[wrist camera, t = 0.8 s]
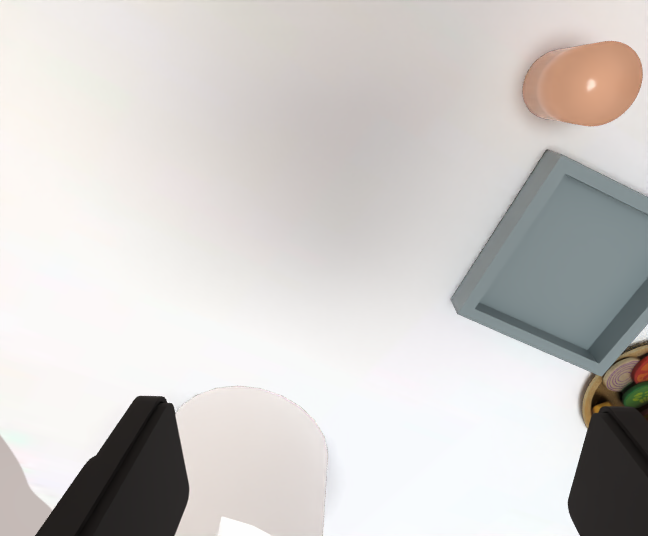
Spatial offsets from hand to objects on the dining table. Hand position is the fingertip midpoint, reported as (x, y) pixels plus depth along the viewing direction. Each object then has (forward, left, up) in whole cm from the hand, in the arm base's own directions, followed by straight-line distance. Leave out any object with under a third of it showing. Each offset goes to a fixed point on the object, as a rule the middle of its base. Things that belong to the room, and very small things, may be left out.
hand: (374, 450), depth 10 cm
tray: (-2, +19, -27) cm, 33 cm away
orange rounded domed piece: (-13, +10, -27) cm, 31 cm away
